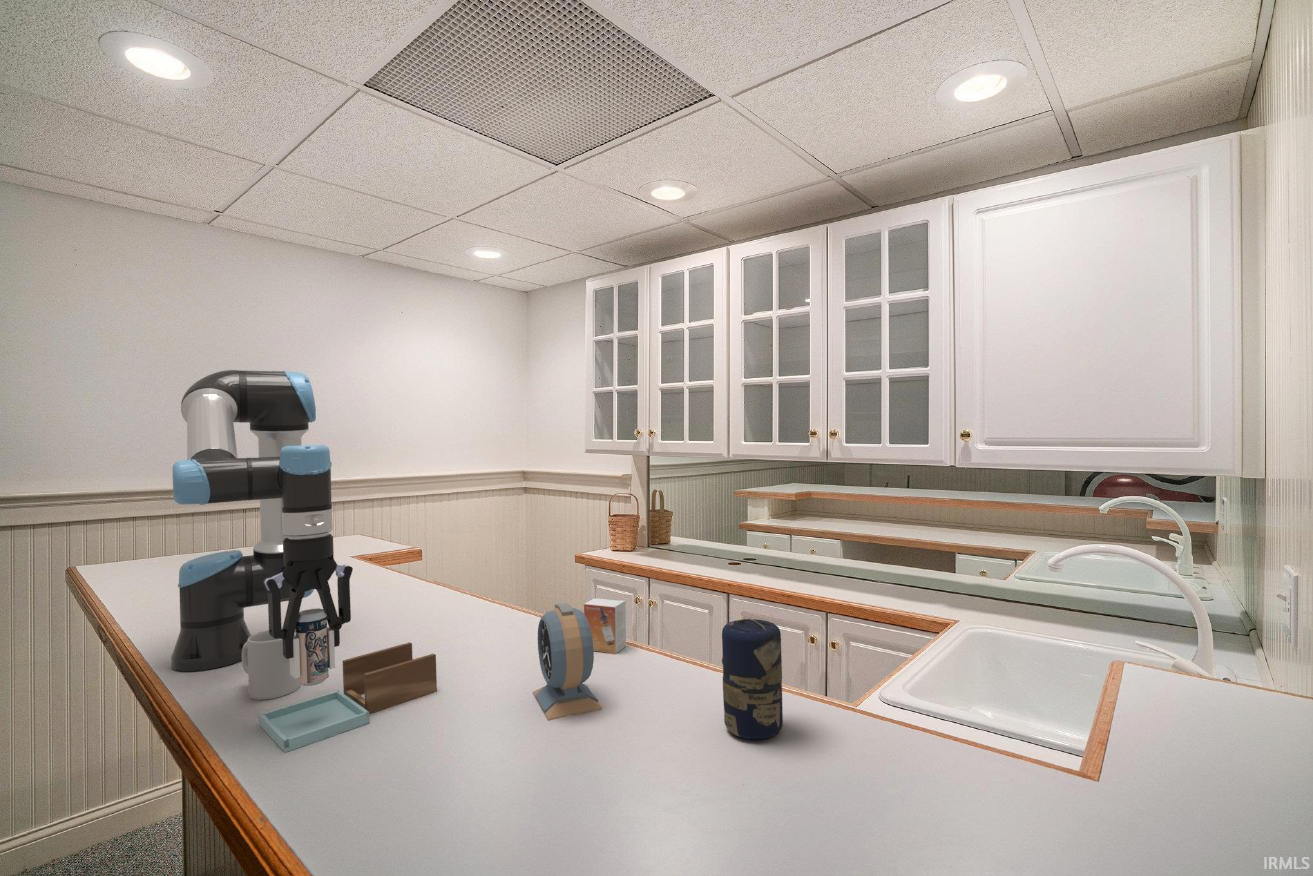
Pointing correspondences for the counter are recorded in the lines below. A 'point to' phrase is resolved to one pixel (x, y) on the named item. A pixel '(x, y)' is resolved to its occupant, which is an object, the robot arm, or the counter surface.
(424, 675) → the cradle
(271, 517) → the robot arm
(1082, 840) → the counter surface
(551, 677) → the alarm clock
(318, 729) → the tray
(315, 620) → the beer can
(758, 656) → the canister
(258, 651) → the mug
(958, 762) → the counter surface
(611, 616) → the small box
